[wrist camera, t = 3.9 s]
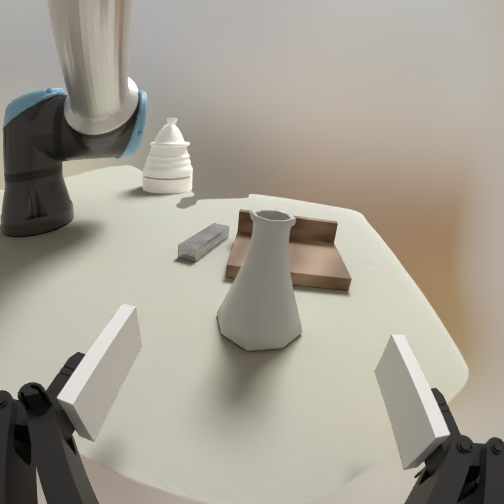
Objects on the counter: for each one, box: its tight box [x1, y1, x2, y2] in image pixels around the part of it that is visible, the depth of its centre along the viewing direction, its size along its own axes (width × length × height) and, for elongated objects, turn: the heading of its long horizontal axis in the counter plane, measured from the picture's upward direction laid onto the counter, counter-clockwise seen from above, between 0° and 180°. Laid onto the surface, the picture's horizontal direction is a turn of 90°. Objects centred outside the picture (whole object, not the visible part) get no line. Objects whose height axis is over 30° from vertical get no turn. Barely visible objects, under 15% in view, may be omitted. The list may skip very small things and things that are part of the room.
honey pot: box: [143, 118, 193, 194], centre depth 68 cm, size 13×13×18 cm
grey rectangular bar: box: [178, 223, 229, 262], centre depth 40 cm, size 2×10×2 cm, turn 160°
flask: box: [217, 209, 302, 351], centre depth 23 cm, size 7×7×10 cm
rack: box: [226, 209, 351, 290], centre depth 37 cm, size 14×12×4 cm
